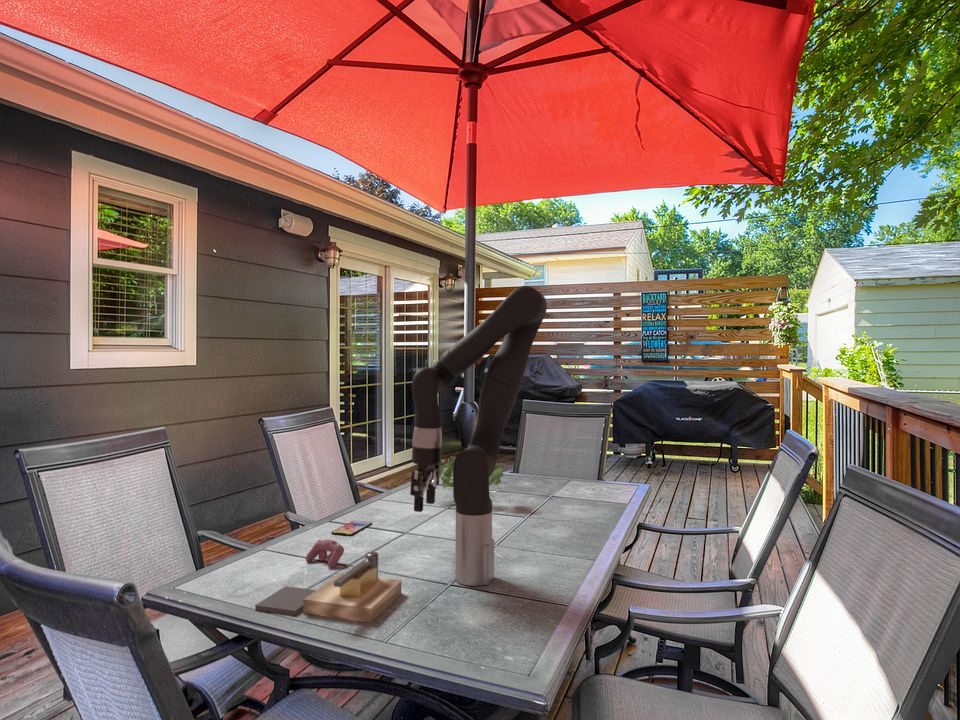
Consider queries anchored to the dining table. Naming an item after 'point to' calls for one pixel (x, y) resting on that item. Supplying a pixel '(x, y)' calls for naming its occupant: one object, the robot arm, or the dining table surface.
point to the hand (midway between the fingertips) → (424, 507)
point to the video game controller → (321, 551)
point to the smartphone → (351, 528)
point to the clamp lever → (359, 568)
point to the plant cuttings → (448, 474)
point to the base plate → (352, 601)
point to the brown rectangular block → (360, 583)
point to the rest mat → (285, 601)
